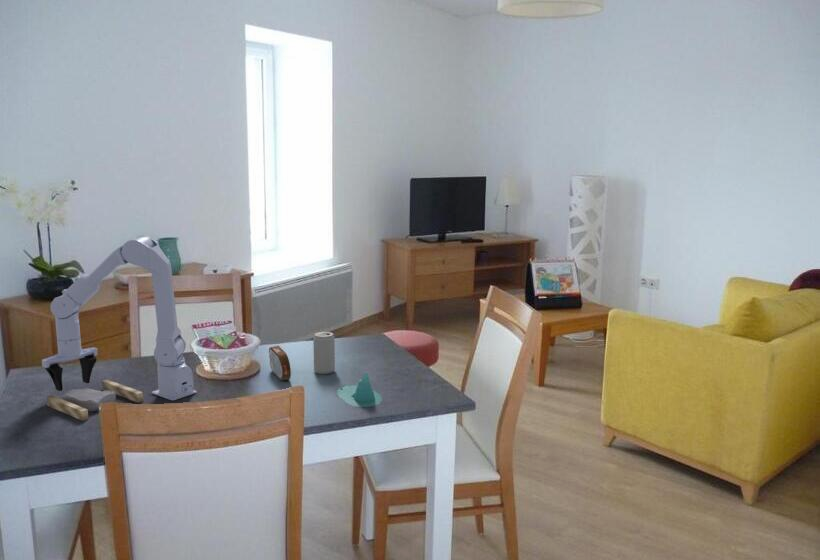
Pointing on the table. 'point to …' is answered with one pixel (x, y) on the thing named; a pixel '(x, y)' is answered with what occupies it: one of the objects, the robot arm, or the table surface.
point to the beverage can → (324, 352)
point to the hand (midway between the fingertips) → (72, 386)
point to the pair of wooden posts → (82, 412)
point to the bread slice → (279, 363)
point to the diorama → (360, 393)
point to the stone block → (88, 397)
